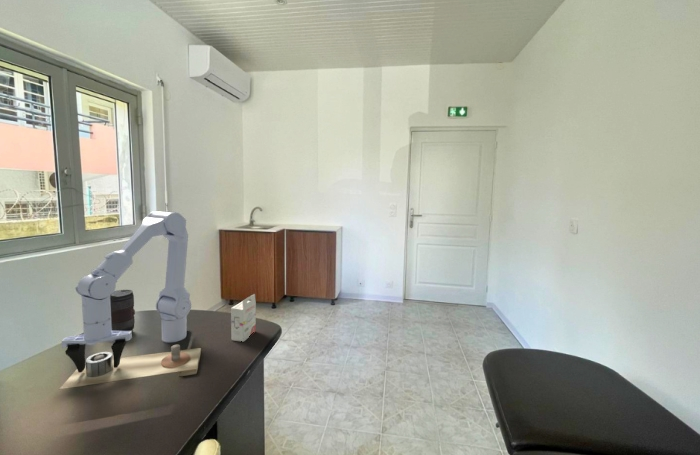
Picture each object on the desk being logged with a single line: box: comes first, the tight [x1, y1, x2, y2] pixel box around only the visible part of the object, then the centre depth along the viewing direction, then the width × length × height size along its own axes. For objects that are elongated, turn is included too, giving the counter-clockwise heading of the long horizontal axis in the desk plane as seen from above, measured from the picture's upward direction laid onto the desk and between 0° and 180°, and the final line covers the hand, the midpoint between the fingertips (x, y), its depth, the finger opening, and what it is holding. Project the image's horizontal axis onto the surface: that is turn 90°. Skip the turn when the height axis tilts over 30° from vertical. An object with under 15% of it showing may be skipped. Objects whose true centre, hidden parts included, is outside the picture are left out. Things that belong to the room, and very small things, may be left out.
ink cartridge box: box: [230, 293, 257, 343], centre depth 107 cm, size 9×5×15 cm, turn 168°
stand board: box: [59, 344, 202, 390], centre depth 84 cm, size 12×30×6 cm, turn 111°
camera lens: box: [110, 289, 136, 334], centre depth 103 cm, size 8×8×15 cm
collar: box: [85, 351, 114, 377], centre depth 81 cm, size 5×5×4 cm
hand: (99, 368), depth 81 cm, fingers open, 7 cm apart
